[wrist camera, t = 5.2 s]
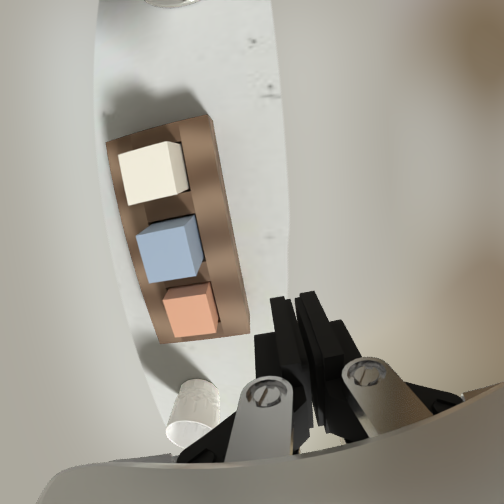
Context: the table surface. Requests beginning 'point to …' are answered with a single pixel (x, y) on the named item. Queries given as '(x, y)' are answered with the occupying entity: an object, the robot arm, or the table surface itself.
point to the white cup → (193, 412)
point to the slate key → (171, 249)
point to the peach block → (192, 309)
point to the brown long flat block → (183, 204)
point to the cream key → (153, 172)
